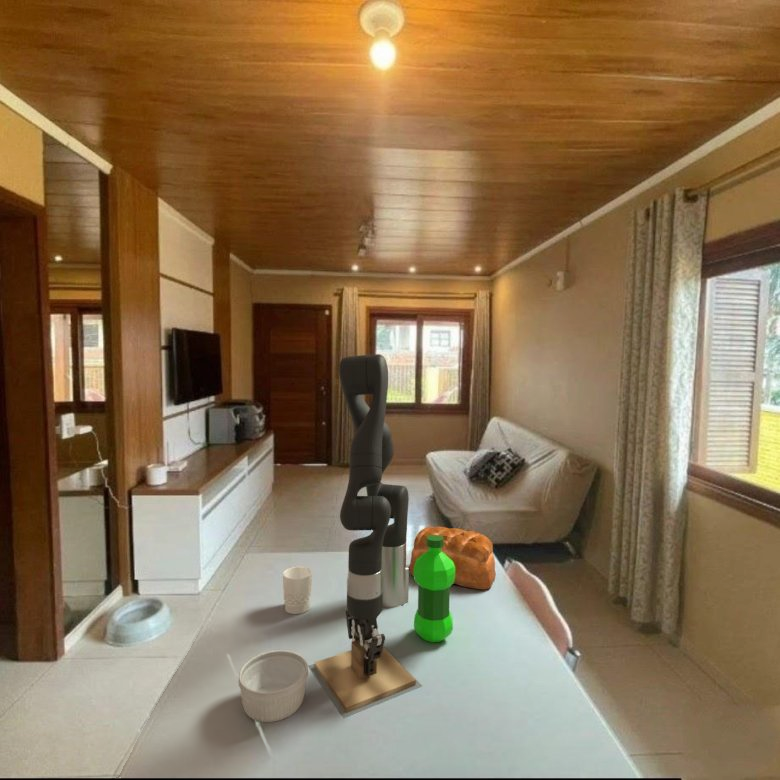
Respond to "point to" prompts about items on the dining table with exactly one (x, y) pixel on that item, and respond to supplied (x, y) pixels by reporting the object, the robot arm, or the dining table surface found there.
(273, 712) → the ramekin
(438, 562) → the plastic bottle
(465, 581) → the bread
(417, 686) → the grey mat
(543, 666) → the dining table surface
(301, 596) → the white cup
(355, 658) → the oak lid
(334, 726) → the dining table surface
